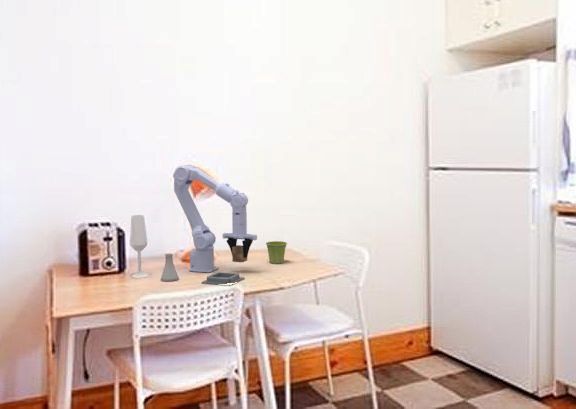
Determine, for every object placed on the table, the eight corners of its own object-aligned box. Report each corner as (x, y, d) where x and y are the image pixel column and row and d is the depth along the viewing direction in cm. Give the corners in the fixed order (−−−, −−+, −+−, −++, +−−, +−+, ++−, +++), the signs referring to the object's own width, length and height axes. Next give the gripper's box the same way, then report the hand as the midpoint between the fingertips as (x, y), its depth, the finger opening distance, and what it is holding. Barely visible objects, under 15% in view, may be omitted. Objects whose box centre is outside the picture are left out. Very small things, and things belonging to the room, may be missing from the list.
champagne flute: (131, 274, 228) (129, 215, 226) (148, 273, 230) (146, 214, 227) (131, 278, 221) (128, 217, 219) (148, 277, 223) (146, 216, 221)
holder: (201, 283, 211) (201, 277, 211) (216, 276, 222) (216, 271, 222) (230, 286, 207) (230, 280, 207) (244, 278, 218) (244, 273, 218)
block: (232, 261, 229) (232, 247, 228) (237, 259, 233) (237, 245, 233) (242, 262, 227) (242, 247, 227) (247, 260, 232) (247, 245, 231)
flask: (162, 282, 213) (162, 256, 212) (157, 278, 220) (157, 253, 219) (181, 280, 217) (180, 254, 216) (176, 276, 223) (175, 251, 222)
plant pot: (291, 261, 250) (291, 242, 249) (279, 265, 242) (279, 245, 241) (273, 259, 255) (273, 240, 254) (261, 263, 247) (261, 243, 246)
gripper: (218, 224, 228) (219, 257, 229) (251, 225, 222) (252, 259, 224) (226, 221, 234) (227, 254, 236) (259, 223, 229) (259, 256, 230)
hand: (239, 256), depth 230 cm, fingers closed on block, 4 cm apart
